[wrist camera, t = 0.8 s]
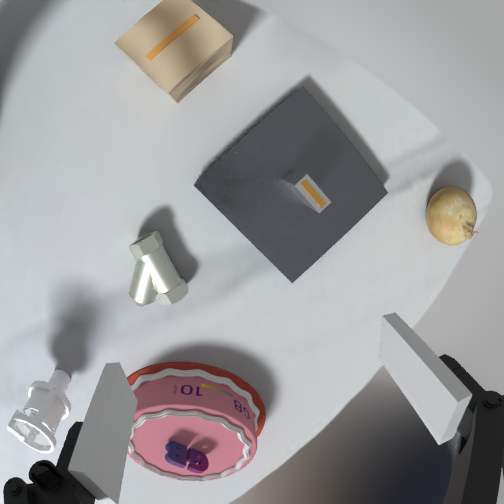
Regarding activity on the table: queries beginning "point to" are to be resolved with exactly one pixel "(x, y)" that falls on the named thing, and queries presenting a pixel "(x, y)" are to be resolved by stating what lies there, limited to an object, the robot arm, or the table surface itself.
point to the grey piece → (293, 185)
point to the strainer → (43, 411)
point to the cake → (193, 421)
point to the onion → (451, 215)
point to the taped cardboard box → (177, 46)
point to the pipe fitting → (154, 273)
